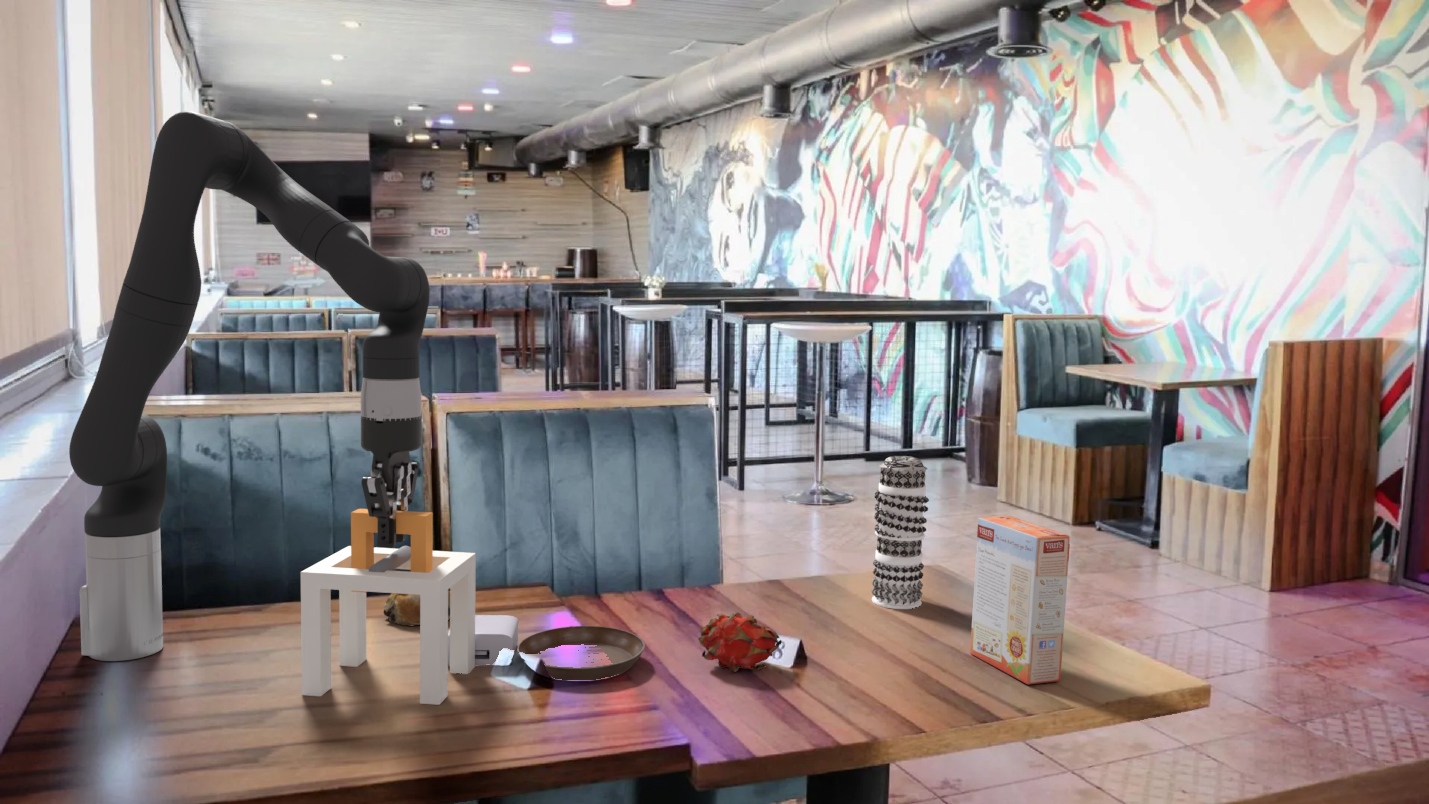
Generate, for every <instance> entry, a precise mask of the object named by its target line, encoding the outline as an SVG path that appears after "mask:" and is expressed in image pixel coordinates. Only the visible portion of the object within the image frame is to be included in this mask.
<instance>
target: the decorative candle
mask: <svg viewBox="0 0 1429 804" xmlns="http://www.w3.org/2000/svg"><path fill="white" fill-rule="evenodd" d="M878 467H879V468H880V477H879V483H878V489H877V491H876V492H875V493H874V499H876V501H877V503H875V505H874V510H875V514H874V516H873V518H874V520H875V522H877V523H876V524H875V525H874V534H875V536H877V542H876V549H875V557H874V558H875V559H874V560H873V562H872V565H873V566H874V569H873V571H872V574H873V575H874V576H875V577H874V578H872V580H871V584H872V586H873V588H872V589H871V593H872V595H873V596H872V597H871V601H872V603H873V604H874V605H877V606H879V607H883V608H886V609H894V610H911V609H912V608H913V609H916V608H915V607H917V608H920V607H921V605H922V600H921V598H922V596H923V592H922V590H923V587H924V583H922V581H921V579H923V578H924V573H923V572H922V570H923V569H924V568H925V564H923V562H922V561H923V551H922V548H923V543H922V540H924V538H925V537H926V534H925V532H926V531H927V528H926V527H925V526H924V524H926V523H927V522H928V521H927V518H925V517H924V514H925V513H926V512H928V511H929V507H928V506H927V505H926V504H927V503H928V502H929V501H930V499H929V498H928V497H927V496H926V491H927V485H926V470H928V467H926V466H925V465H924V464H923V461H922V460H921V459H920V458H917V457H916V456H915V457H914V456H910V455H909V456H907V455H892V456H889V457H887V458H885V460H884V461H883V463H882V464H878ZM919 606H920V607H919Z"/></svg>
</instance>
